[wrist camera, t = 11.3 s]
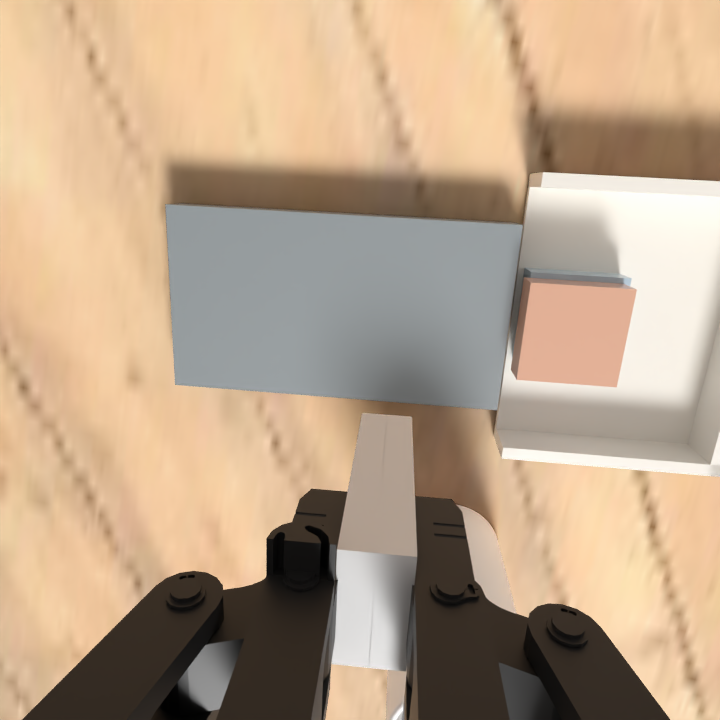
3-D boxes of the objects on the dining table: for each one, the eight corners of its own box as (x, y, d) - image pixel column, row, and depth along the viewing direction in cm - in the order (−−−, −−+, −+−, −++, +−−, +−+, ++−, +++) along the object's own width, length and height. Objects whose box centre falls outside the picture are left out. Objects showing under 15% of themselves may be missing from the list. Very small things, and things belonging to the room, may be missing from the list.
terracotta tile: (510, 369, 35) (516, 379, 34) (523, 277, 34) (530, 282, 32) (605, 376, 35) (616, 387, 33) (623, 283, 33) (636, 289, 31)
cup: (421, 486, 41) (429, 659, 26) (518, 530, 42) (581, 725, 27) (375, 567, 44) (358, 768, 29) (467, 607, 44) (498, 826, 29)
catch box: (493, 435, 40) (501, 458, 36) (529, 173, 34) (543, 172, 31) (693, 452, 39) (720, 476, 35) (763, 185, 33) (802, 185, 30)
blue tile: (511, 355, 37) (517, 365, 35) (524, 267, 35) (531, 272, 34) (602, 362, 37) (612, 371, 35) (619, 273, 35) (631, 278, 33)
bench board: (189, 373, 40) (175, 384, 38) (181, 203, 37) (165, 204, 34) (491, 396, 39) (497, 410, 36) (515, 222, 35) (522, 225, 33)
